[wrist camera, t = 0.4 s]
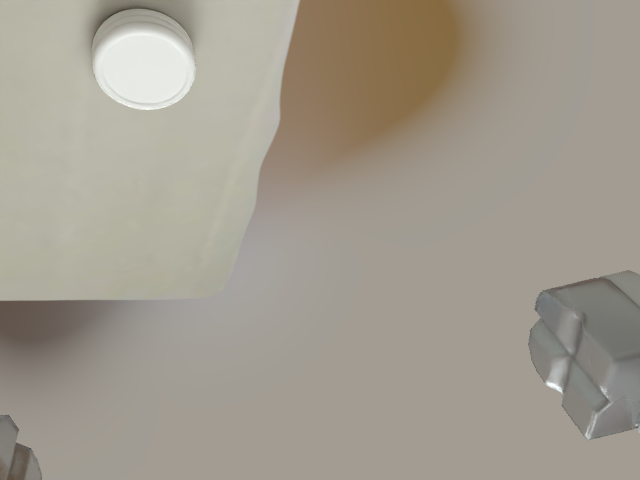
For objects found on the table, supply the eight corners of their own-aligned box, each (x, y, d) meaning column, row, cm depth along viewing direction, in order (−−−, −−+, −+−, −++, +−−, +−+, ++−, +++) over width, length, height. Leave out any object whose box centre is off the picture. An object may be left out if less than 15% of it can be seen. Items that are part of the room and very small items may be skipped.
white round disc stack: (105, -9, 52) (105, 11, 50) (206, 26, 58) (211, 45, 55) (82, 76, 59) (82, 97, 57) (175, 101, 64) (178, 121, 62)
